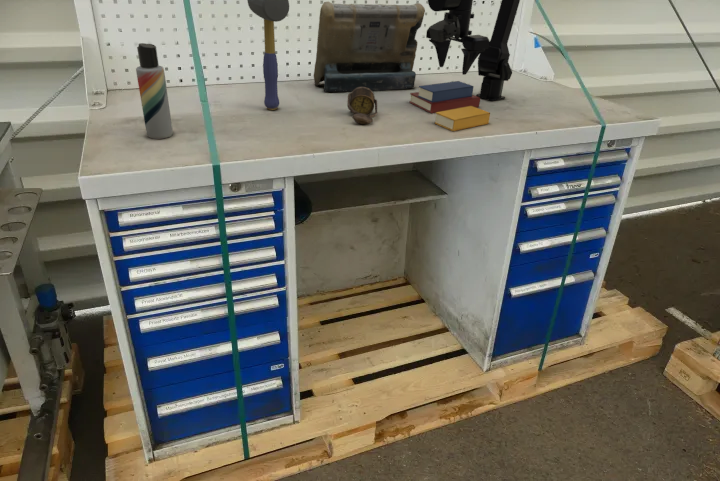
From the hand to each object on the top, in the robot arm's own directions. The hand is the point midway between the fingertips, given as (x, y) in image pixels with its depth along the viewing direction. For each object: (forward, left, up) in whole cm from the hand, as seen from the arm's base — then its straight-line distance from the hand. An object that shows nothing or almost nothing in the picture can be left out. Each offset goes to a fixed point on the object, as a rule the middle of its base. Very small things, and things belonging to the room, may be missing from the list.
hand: (452, 70), depth 144 cm
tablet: (+6, -30, -11) cm, 33 cm away
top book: (+6, +11, -11) cm, 17 cm away
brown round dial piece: (+27, -6, -11) cm, 30 cm away
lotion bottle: (+76, -17, -11) cm, 78 cm away
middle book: (-1, -3, -8) cm, 8 cm away
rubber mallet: (+44, -23, -11) cm, 51 cm away
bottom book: (-2, -4, -11) cm, 12 cm away
